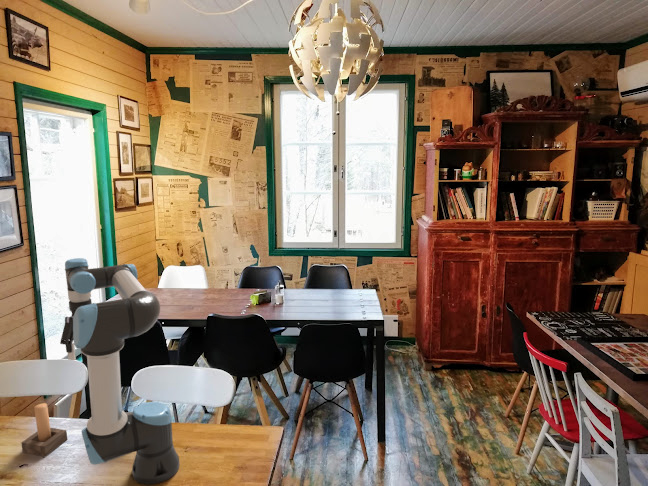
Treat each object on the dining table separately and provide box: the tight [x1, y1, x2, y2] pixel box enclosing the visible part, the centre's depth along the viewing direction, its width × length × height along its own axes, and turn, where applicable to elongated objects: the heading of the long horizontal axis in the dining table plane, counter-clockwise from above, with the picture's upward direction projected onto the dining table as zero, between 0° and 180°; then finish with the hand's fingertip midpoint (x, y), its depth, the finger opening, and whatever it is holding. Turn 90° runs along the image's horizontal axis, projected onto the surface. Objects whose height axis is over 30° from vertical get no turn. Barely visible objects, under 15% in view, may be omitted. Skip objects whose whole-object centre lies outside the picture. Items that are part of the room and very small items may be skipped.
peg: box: [33, 403, 51, 442], centre depth 167 cm, size 4×4×16 cm
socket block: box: [20, 427, 68, 458], centre depth 168 cm, size 10×10×4 cm
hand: (85, 352), depth 176 cm, fingers open, 13 cm apart
